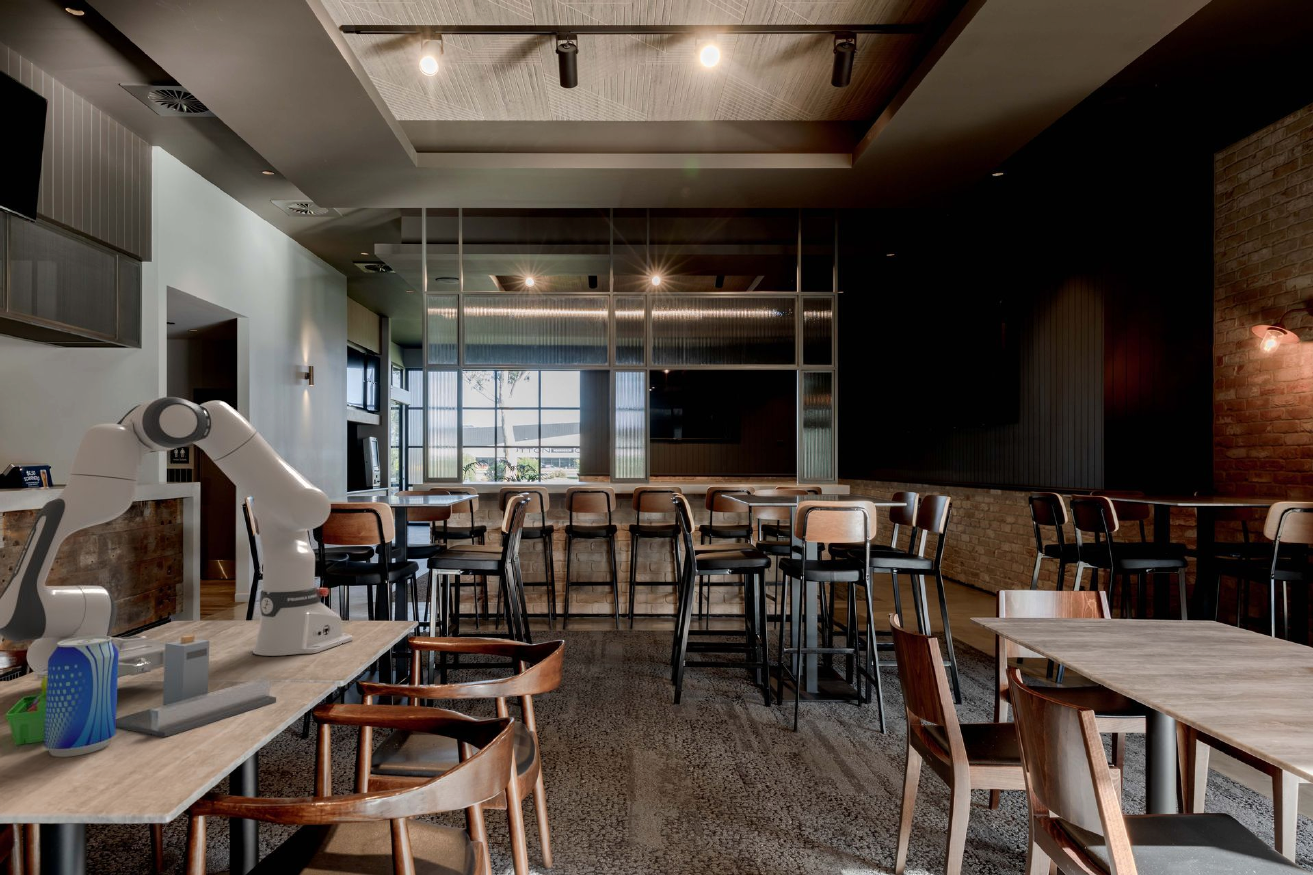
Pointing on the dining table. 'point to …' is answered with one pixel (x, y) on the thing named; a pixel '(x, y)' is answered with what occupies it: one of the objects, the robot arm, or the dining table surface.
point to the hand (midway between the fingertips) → (142, 668)
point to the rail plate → (147, 716)
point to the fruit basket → (29, 717)
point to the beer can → (81, 696)
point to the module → (185, 669)
